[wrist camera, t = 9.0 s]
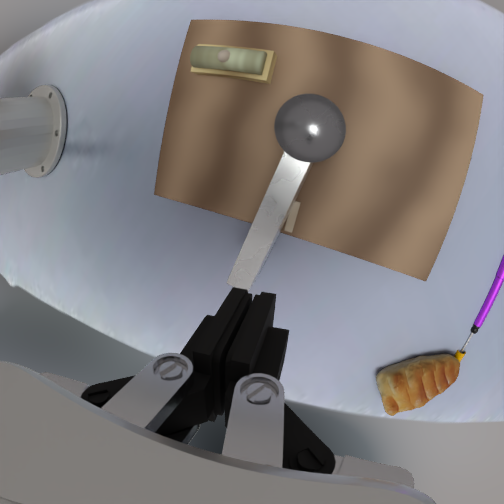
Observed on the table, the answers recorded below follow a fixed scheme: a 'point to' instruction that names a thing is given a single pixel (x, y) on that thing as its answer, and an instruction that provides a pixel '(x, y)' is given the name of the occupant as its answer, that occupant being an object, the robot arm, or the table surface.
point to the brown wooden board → (343, 161)
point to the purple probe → (485, 306)
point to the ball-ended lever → (289, 175)
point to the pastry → (416, 381)
